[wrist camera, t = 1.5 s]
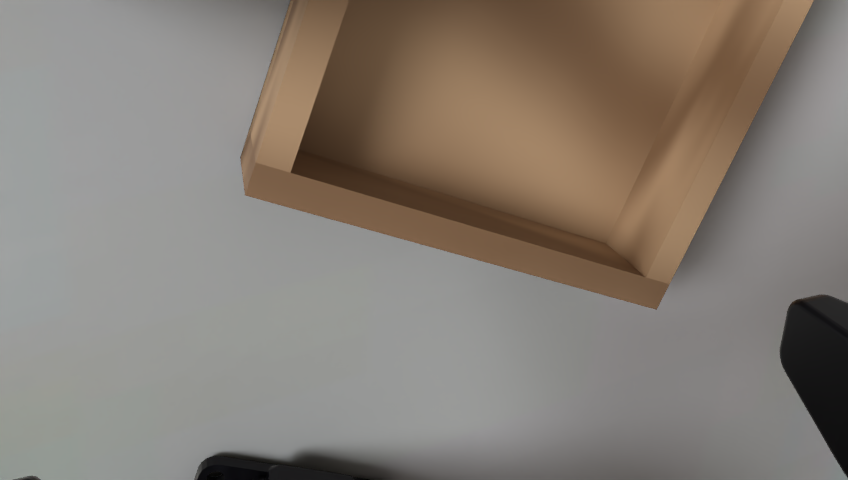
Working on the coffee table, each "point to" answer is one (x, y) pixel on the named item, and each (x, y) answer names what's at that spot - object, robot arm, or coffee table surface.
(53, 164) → the coffee table surface
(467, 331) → the coffee table surface
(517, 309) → the coffee table surface
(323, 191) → the tray
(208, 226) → the coffee table surface
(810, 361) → the robot arm
